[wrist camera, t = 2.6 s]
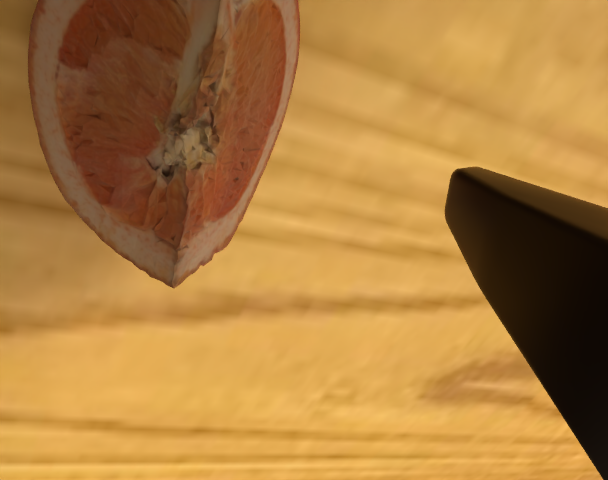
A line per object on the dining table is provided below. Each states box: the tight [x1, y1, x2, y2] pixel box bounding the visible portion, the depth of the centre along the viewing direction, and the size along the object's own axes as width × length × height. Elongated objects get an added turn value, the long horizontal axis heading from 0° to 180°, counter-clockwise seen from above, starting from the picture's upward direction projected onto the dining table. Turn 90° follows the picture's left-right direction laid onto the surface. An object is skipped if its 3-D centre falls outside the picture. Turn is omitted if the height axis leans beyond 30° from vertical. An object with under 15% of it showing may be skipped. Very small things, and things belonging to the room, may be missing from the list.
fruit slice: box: [28, 0, 300, 288], centre depth 14 cm, size 8×7×5 cm
